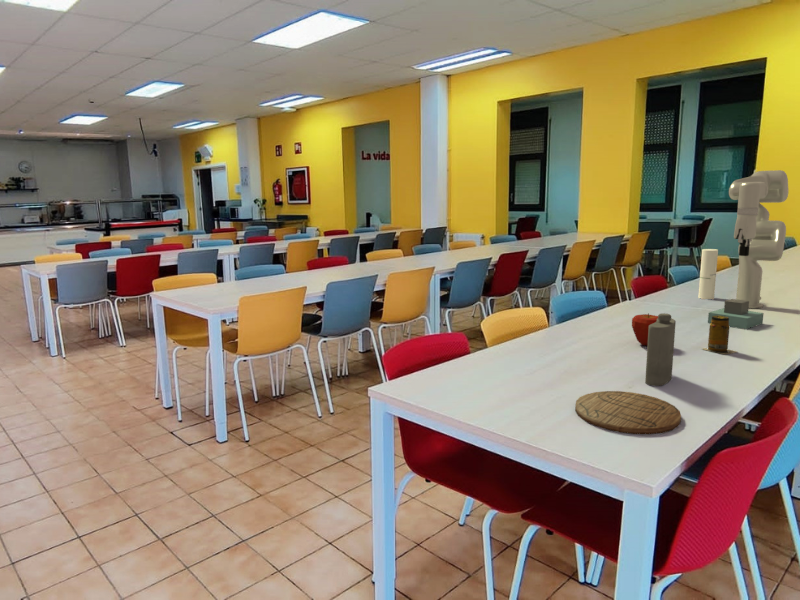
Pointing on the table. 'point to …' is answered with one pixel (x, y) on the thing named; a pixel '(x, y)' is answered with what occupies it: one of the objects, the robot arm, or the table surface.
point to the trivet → (628, 412)
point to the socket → (739, 318)
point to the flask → (660, 350)
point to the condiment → (719, 335)
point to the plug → (736, 306)
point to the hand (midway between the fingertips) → (743, 255)
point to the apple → (642, 326)
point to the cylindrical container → (708, 273)
